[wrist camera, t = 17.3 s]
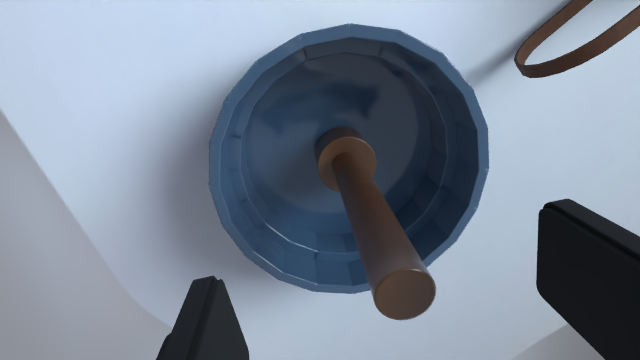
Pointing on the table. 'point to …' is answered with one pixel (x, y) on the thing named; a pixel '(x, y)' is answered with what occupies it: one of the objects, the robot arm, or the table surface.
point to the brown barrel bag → (579, 55)
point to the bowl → (377, 129)
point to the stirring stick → (374, 226)
